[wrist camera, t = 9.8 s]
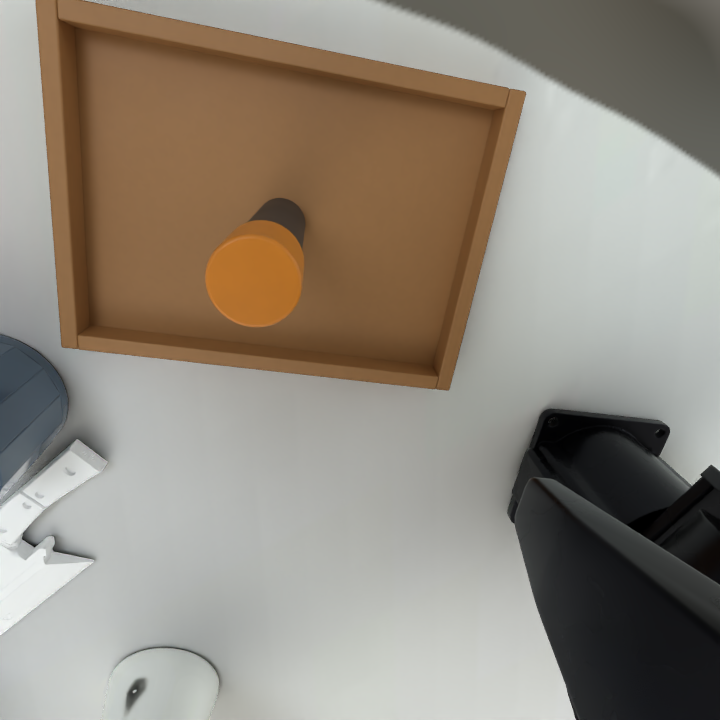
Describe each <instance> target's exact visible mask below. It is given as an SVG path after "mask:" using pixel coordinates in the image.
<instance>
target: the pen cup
mask: <svg viewBox="0 0 720 720" xmlns="http://www.w3.org/2000/svg"><path fill="white" fill-rule="evenodd" d="M67 413H68V398H67V392H66V389H65V386H64V384H63V382H62V380H61V378H60V376H59V374H58V373H57V371H56V370H55V369H54V368H53V366H52V365H51V364H50V363H49V362H48V361H47V360H46V359H45V358H44V357H43V356H42V355H40V354H39V353H38V352H37V351H35V350H34V349H32V348H31V347H29V346H27V345H26V344H24V343H22V342H20V341H17V340H15V339H12V338H10V337H7V336H3V335H0V499H1V498H2V497H3V496H4V495H5V494H6V493H7V492H8V491H9V489H10V488H11V487H12V486H13V485H14V484H15V483H16V482H17V480H18V479H19V478H20V477H21V476H22V475H23V474H24V473H25V472H26V470H27V469H28V468H29V467H30V466H31V465H32V464H33V463H34V462H35V460H36V459H37V458H38V457H39V456H40V455H41V454H42V453H43V451H44V450H45V449H46V448H47V447H48V446H49V445H50V444H51V442H52V440H53V439H54V437H55V436H56V435H57V434H58V432H59V431H60V430H61V428H62V427H63V425H64V423H65V420H66V417H67Z"/></svg>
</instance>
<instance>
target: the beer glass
mask: <svg viewBox="0 0 720 720" xmlns="http://www.w3.org/2000/svg"><path fill="white" fill-rule="evenodd" d="M218 692H219V678H218V675H217V673H216V671H215V669H214V668H213V667H212V666H211V665H210V664H209V663H208V662H207V661H206V660H205V659H203V658H202V657H200V656H198V655H196V654H194V653H191V652H188V651H185V650H181V649H175V648H153V649H147V650H143V651H140V652H137V653H134V654H132V655H130V656H128V657H127V658H125V659H124V660H122V661H121V662H120V663H119V664H118V665H117V666H116V667H115V669H114V670H113V672H112V674H111V676H110V679H109V682H108V687H107V691H106V696H105V702H104V707H103V712H102V717H101V720H209V719H210V716H211V713H212V711H213V708H214V705H215V702H216V699H217V696H218Z"/></svg>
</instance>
